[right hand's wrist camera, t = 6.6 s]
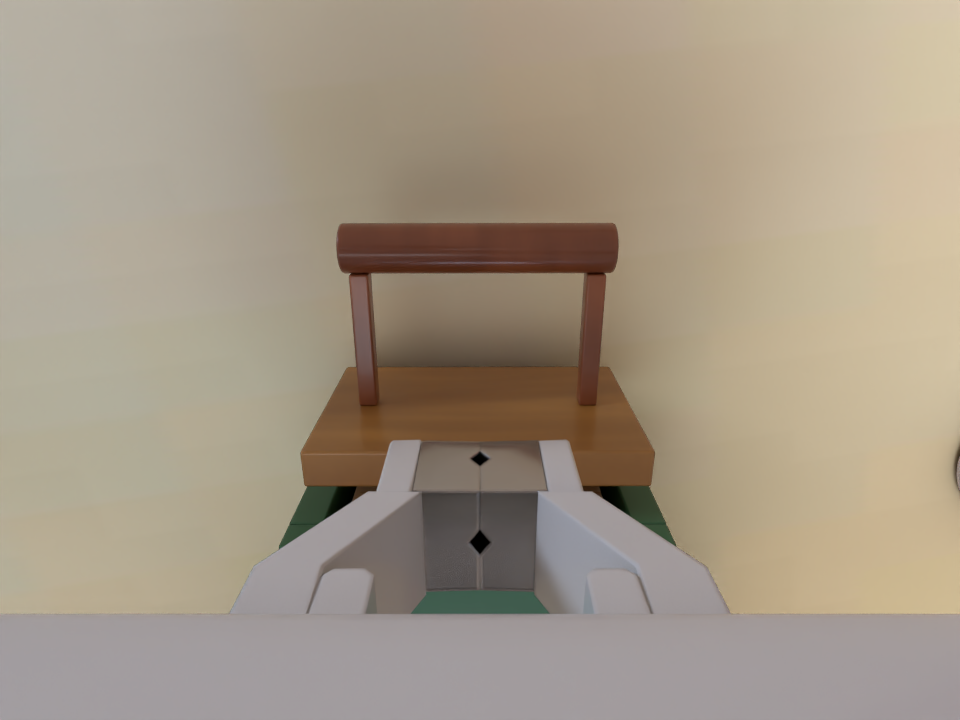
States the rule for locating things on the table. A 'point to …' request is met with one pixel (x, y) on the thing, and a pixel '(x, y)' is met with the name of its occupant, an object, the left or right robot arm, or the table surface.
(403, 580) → the right robot arm
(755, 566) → the table surface
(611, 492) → the green storage box
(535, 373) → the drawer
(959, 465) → the coffee cup
